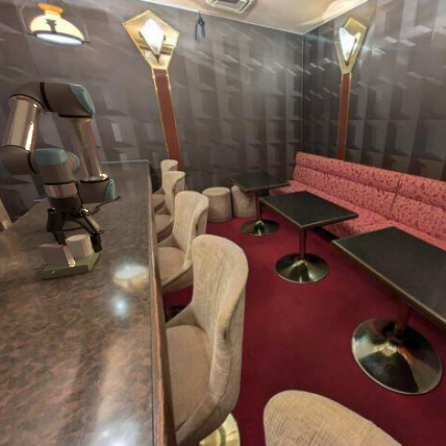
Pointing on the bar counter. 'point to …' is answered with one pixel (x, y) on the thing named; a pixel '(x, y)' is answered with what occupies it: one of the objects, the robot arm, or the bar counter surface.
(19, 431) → the bar counter surface
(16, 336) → the bar counter surface
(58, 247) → the white flat box
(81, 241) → the white cylinder
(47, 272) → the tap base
